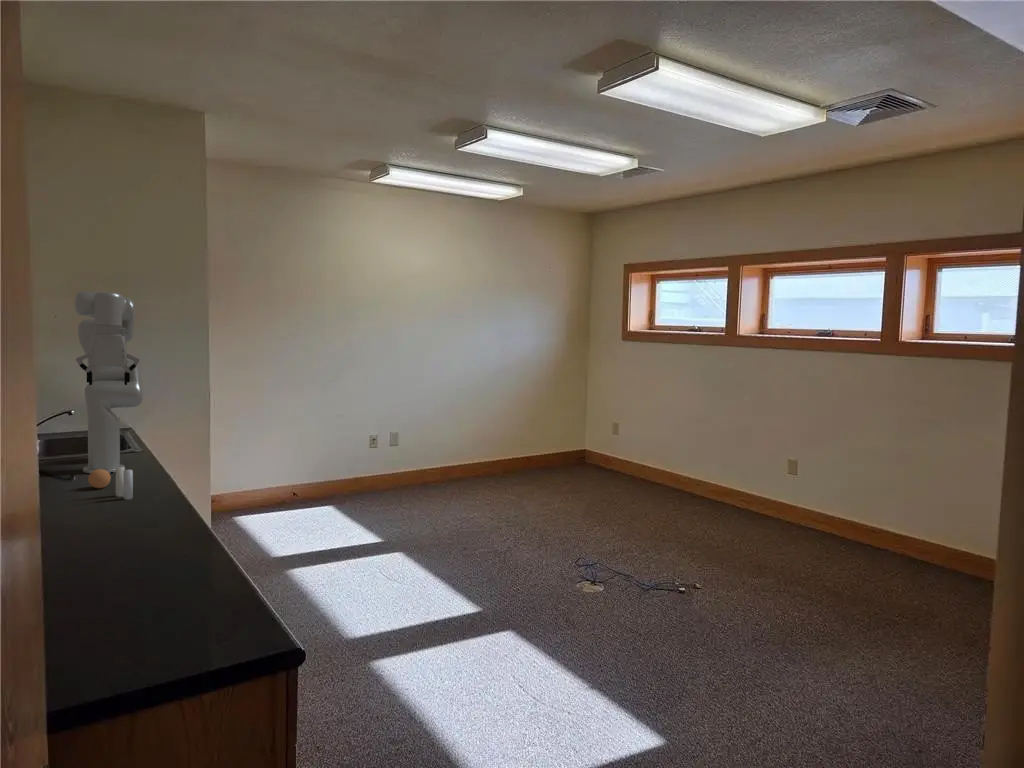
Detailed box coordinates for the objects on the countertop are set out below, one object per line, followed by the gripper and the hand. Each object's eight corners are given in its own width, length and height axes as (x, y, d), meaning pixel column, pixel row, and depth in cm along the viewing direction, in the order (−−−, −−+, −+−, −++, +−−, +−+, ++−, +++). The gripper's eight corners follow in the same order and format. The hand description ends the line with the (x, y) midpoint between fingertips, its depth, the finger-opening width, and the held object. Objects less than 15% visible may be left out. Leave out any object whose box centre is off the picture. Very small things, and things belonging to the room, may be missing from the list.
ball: (87, 487, 210) (86, 468, 209) (109, 485, 213) (109, 466, 213) (89, 491, 205) (89, 471, 205) (112, 488, 209) (112, 470, 208)
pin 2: (122, 498, 198) (122, 470, 198) (132, 497, 200) (131, 469, 199) (124, 499, 197) (124, 471, 196) (133, 498, 198) (133, 470, 197)
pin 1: (115, 495, 201) (115, 467, 201) (124, 494, 203) (124, 466, 202) (116, 497, 199) (116, 469, 199) (125, 496, 201) (125, 468, 200)
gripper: (139, 332, 219) (139, 384, 220) (76, 330, 211) (77, 384, 212) (139, 332, 213) (139, 385, 214) (74, 330, 204) (75, 385, 205)
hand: (108, 384), depth 213 cm, fingers open, 9 cm apart
